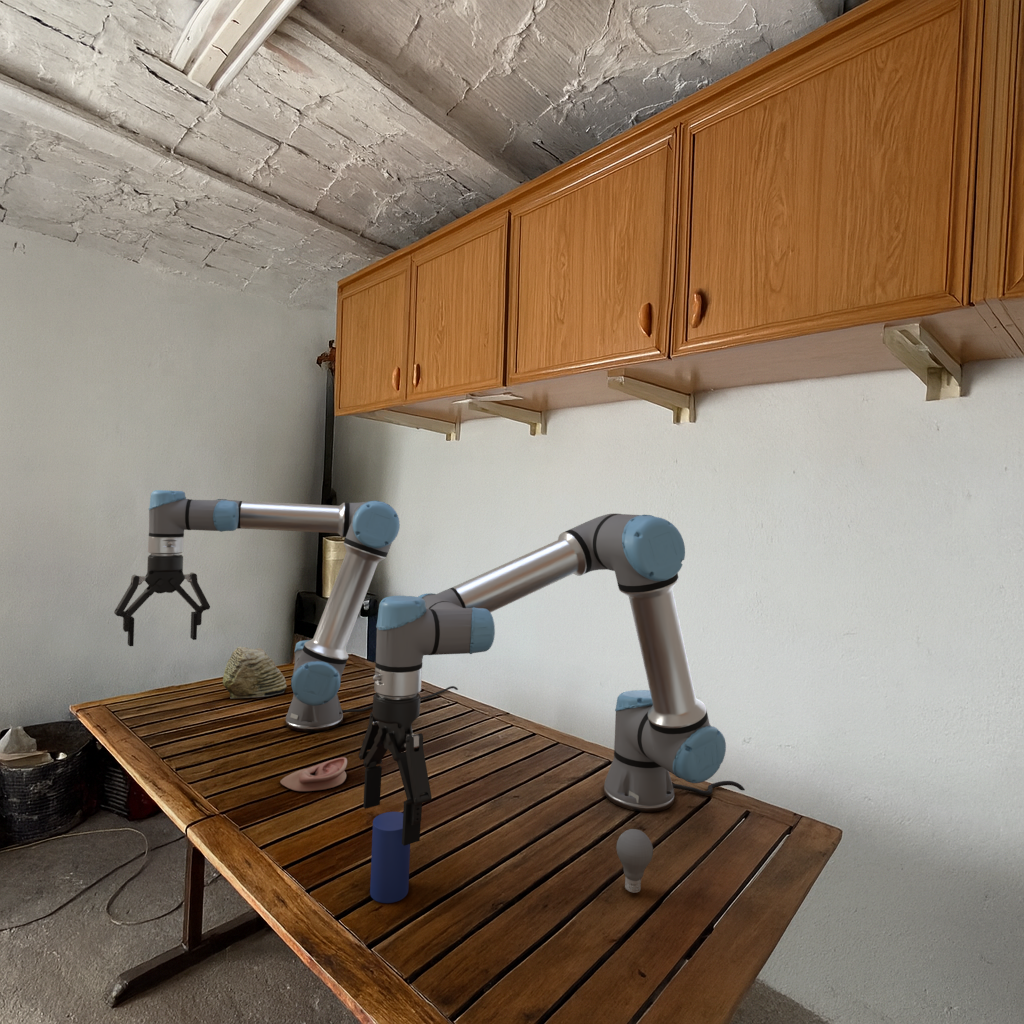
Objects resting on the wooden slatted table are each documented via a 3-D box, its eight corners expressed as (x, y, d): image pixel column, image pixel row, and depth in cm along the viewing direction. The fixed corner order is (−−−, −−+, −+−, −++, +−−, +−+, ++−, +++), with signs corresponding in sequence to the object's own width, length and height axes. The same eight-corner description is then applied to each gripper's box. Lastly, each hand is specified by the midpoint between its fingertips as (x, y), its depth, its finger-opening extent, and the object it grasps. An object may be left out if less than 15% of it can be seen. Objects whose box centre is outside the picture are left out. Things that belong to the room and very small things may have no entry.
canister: (371, 880, 106) (374, 811, 105) (408, 879, 106) (411, 811, 106) (368, 904, 99) (371, 831, 99) (407, 902, 100) (410, 830, 100)
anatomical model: (273, 769, 136) (301, 749, 148) (272, 787, 136) (300, 766, 148) (329, 777, 134) (353, 756, 145) (329, 796, 134) (353, 773, 145)
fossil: (218, 695, 195) (220, 647, 195) (278, 685, 208) (279, 640, 207) (228, 703, 189) (230, 653, 188) (289, 692, 201) (290, 645, 201)
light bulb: (610, 879, 108) (613, 822, 108) (644, 879, 109) (647, 822, 109) (619, 902, 102) (622, 840, 102) (655, 901, 103) (658, 840, 103)
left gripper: (107, 557, 142) (104, 651, 142) (225, 554, 158) (222, 639, 158) (102, 553, 147) (99, 644, 148) (216, 551, 163) (213, 633, 164)
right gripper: (343, 676, 110) (337, 797, 110) (415, 720, 90) (406, 867, 90) (383, 671, 114) (376, 787, 115) (459, 711, 95) (451, 852, 95)
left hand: (162, 642), depth 153 cm, fingers open, 13 cm apart
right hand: (390, 823), depth 103 cm, fingers open, 13 cm apart
